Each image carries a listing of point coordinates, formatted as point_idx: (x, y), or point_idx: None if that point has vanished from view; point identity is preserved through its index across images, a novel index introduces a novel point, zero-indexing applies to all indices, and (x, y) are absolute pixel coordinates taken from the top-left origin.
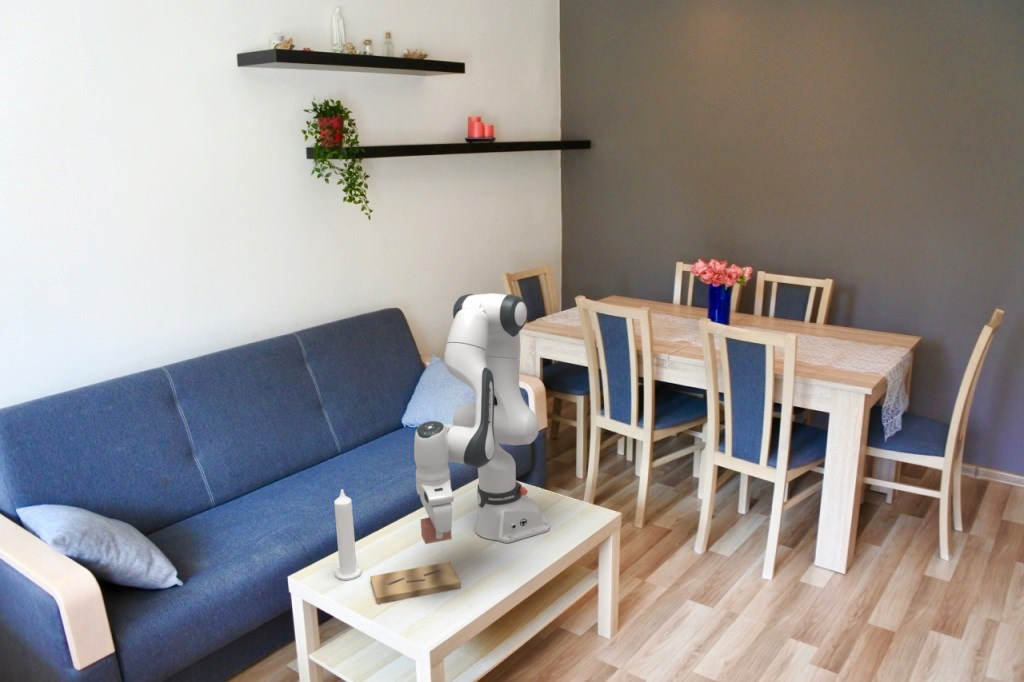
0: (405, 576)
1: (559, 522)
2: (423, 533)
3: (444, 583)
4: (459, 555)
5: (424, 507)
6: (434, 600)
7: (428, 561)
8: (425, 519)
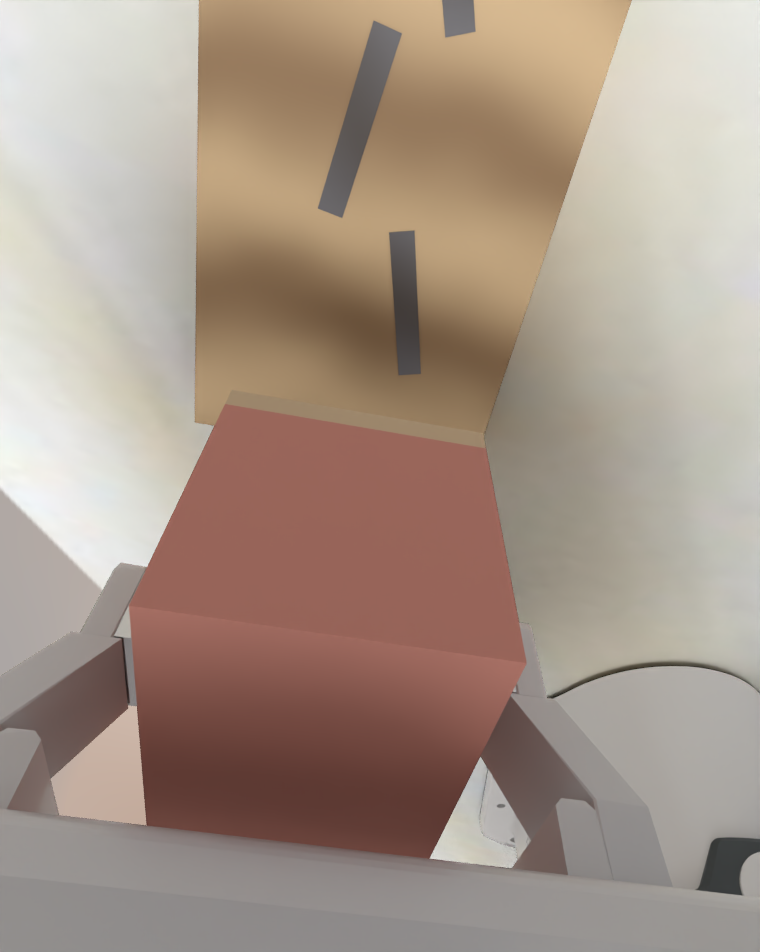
0: (484, 63)
1: (512, 855)
2: (318, 481)
3: (216, 324)
4: (558, 529)
5: (728, 926)
6: (110, 175)
7: (636, 356)
8: (442, 714)
